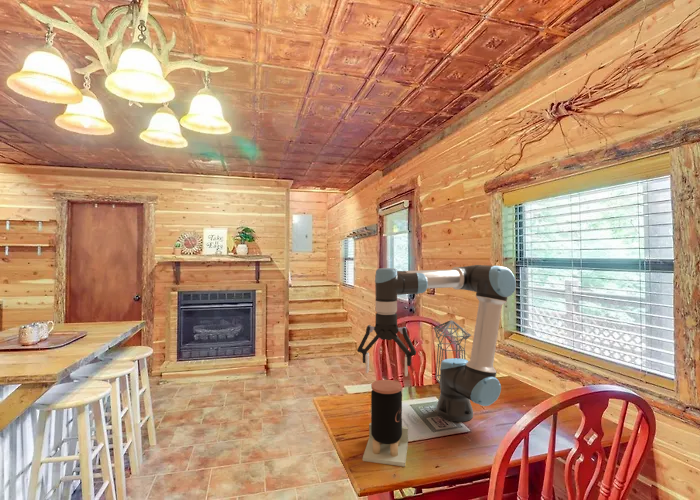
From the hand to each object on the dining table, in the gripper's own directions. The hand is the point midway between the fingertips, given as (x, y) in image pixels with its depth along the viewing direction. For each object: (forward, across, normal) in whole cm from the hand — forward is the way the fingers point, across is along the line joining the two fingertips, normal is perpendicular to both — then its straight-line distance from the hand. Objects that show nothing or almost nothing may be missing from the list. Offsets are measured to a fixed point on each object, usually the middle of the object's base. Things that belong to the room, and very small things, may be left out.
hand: (386, 373), depth 123 cm
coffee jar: (+22, 0, 0) cm, 22 cm away
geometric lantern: (+28, -25, -61) cm, 71 cm away
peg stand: (+27, 0, 0) cm, 27 cm away
